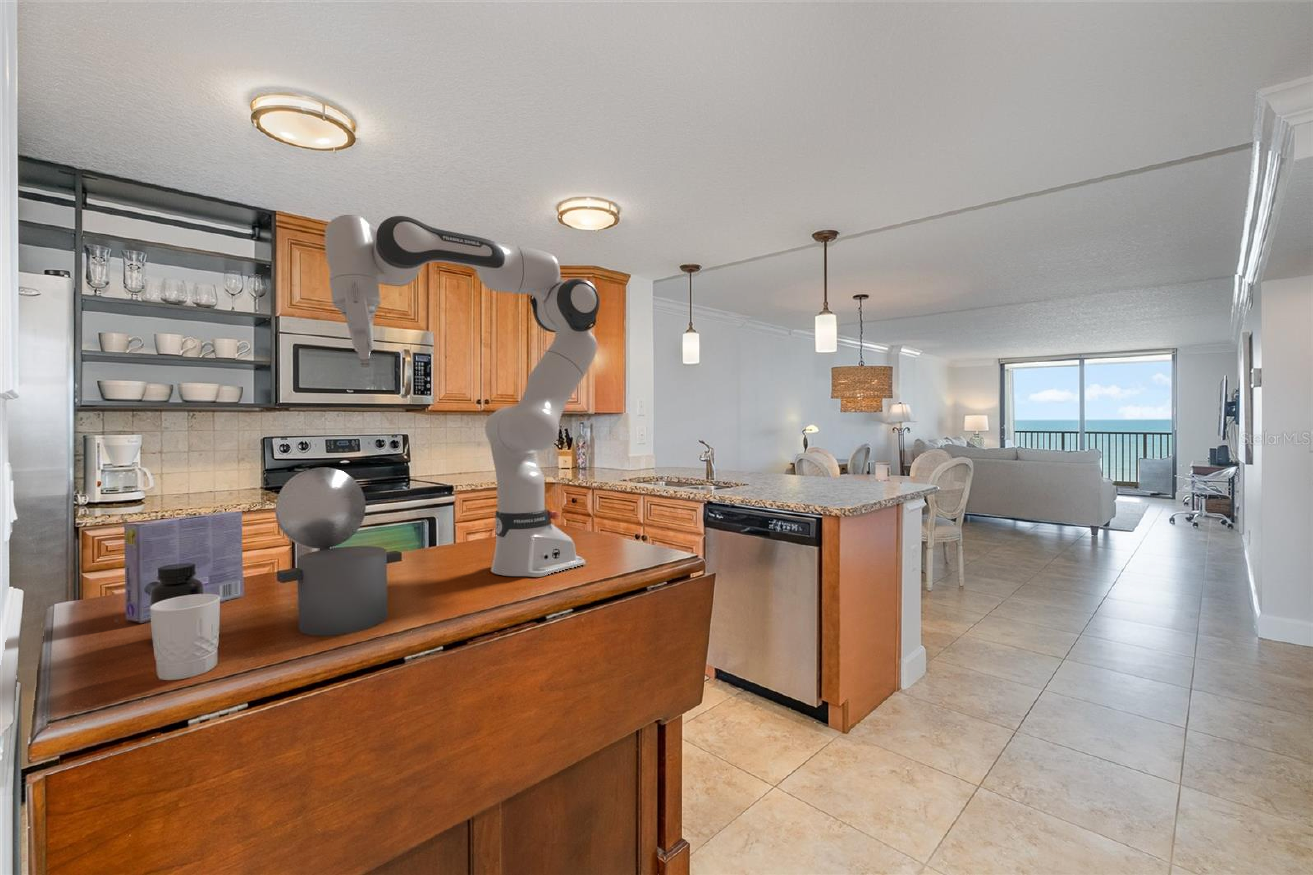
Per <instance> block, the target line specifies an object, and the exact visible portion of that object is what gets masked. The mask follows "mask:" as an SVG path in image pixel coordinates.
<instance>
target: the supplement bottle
mask: <svg viewBox="0 0 1313 875" xmlns="http://www.w3.org/2000/svg"><path fill="white" fill-rule="evenodd" d="M195 575H196V572H195V564H194V563H180V564H172V565H167V566H162V567H160V568H158V576H157V580H160V583H158V584H157V585H155V586H154V587H153V588H152V589H151V592H150V606H151V605H153V604H155V603H157V602H160V601H163V600H166V599H170V598H175V597H180V596H186V595H194V594H203V584H202V582H201V581H200V580H198V579H195V578H194V576H195ZM150 639H151V640H150V641H151V643H153V640H152V629H151V628H150Z"/></svg>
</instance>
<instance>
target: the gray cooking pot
mask: <svg viewBox="0 0 1313 875" xmlns="http://www.w3.org/2000/svg"><path fill="white" fill-rule="evenodd" d="M402 554H403V553H402V552H401V551H398V550H391V551H387V549H385V548H384V547H380V546H374V545H373V546H370V545H352V546H351V545H350V546H342V547H330V548H323V549H318V550H315V551H311V552H307V553H304V554H302V555H300V556H298V557H297V559H296V566H297V567H293V568H287V569H281V570H277V571H276V581H277V582H278V583H280V584H286V583H292V582H296V581H297V611H298V612H297V614H298V615H297V616H298V617H297V618H298V620H297V621H298V622H297V623H298V631H299V632H300V633H301V632H302V634H303V635H308V636H315V637H317V636H318V637H329V636H340V635H346V634H353V633H357V632H362V631H365V630H368V629H371V628H374V627H377V626H379V625H380V624H382V623H383V622H385V621H386V620H387V619H388V616H389V615H388V614H389V613H388V570H387V568H388V565H387V564H393V563H398V562H402V561H403V557H402V556H403V555H402ZM386 618H387V619H386Z"/></svg>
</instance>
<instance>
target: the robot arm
mask: <svg viewBox="0 0 1313 875" xmlns="http://www.w3.org/2000/svg"><path fill="white" fill-rule="evenodd" d="M324 230H325V231H324V248H325V258H326V262H327V265H328V267H329V271H330V274H329V280H328V281H329V287H330V295H331V301H332V302H331V304H332V306H333V307H335V308H336V309H338V311H339V312H340V314H341V316H342V317H344V319H345V321H346V324H347V328H348V331H349V335H350V338H351V343H352V346H353V349H354V351H355V352H357V355H358V358H359V361H360V362H359V363H360V367H361V369H362V370H368V369H370V368H371V367H372V366H371V356H370V355H371V354H370V353H371V351H373V349H374V316H376V313H377V309H378V307H379V306H380V305H381V304H382V303H381V302H382V301H381V297H380V288H379V284H380V285H386V286H391V287H393V286H394V287H403V286H407V285H409V284H411V283H412V282H413V281H414V280H415V279H416V278H417V276H418V275H419V273H420V271H421V270H422V267H423V266H424V265H426V264H429V263H432V262H433V263H434V262H438V263H439V262H440V263H446V264H452V265H459V266H464V267H465V266H467V267H470V268H472V269H474V270H476V274H477V277H478V279H479V280H480V282H481V283H482V284H483V286H484V287H485V288H486V289H488V290H491V291H494V292H498V293H501V294H502V293H504V294H513V295H514V294H516V295H517V294H518V295H529V302H530V304H531V307H532V314H533V317H534V320H535V322H536V324H537V325H538V327H539V328H541V329H542V330H544V331H546V332H549V333H555V334H554V338H553V341H552V343H551V345H550V346H549V347H548V349H547V350H546V351H545V353H544V354H543V355H542V357H541V359H539V361H538V363H537V364H536V365H535V366H534V368H533V370H532V371H531V373H530V374H529V375H528V377H527V384H526V386H525V390H524V391H523V392H524V393H523V394H522V397H521V398H520V399H519V402H518V403H517V404H515V405H514V406H511V405H510V406H504V407H501V408H499V409H497V410H496V411H494V412H493V413H492V414H490V415H489V416H488V418H487V420H486V422H485V427H484V428H485V429H484V431H485V435H486V438H487V439H488V441H489V444H490V450H491V455H492V459H493V464H494V469H495V475H496V476H495V478H496V501H497V502H496V503H497V505H496V506H497V510H496V511H495V520H494V527H495V536H496V539H495V540H496V541H495V550H494V556H493V562H492V564H491V568H490V572H491V573H493V574H494V575H495V574H496V575H501V576H506V577H533V578H541V577H545V576H548V574H549V575H552V574H551V573H553V574H555V573H554V572H557V573H559V571H561V572H563V571H562V570H564V571H566V570H565V569H568V568H572V569H575V568H574V567H576V568H578V567H577V566H580V565H583V564H585V565H586V559H584V558H583V557H581V556H579V555H577V551H576V545H575V543H574V541H573V540H574V539H572V537H571V536H569V535H568V534H566V533H565V532H564V531H562V530H561V529H559V527H557V526H555V525H554V524H552V520H559V518H560V516H561V515H560V512H559V511H556V510H551V511H550V510H548V509H547V508H545V505H546V503H545V495H546V494H545V476H544V473H543V471H542V469H541V467H540V465H539V461H538V457H537V453H540V452H543V451H546V450H548V449H550V448H551V447H553V445H554V444H556V441H557V439H558V437H559V433H560V426H559V423H560V421H561V419H562V418H561V417H562V415H563V413H564V410H565V409H566V408H565V407H566V405H567V403H568V402H569V400H570V398H571V397H572V395H573V394H574V392H575V391H576V389H577V387H579V384H581V381H582V380H583V378H584V377H585V375H586V374H587V373H588V371H589V369H590V366H591V365H592V362H594V361H593V360H594V358H595V356H596V353H597V351H598V345H599V344H598V341H597V338H596V336H594V333H592V332H591V330H592V328H594V327H595V326H596V322H597V315H598V312H599V309H600V305H601V304H600V294H599V291H598V289H597V288H596V287H595V285H594V284H593V283H592V282H590V281H588V280H586V279H584V278H583V279H582V278H570V279H567V280H564V279H563V277H562V276H561V267H560V263H559V260H558V259H557V258H556V256H554V255H553V254H552V253H550V252H547V251H544V250H540V249H538V248H533V247H529V246H524V245H523V246H522V245H514V244H507V243H500V242H495V241H493V240H491V239H488V238H484V237H479V236H475V235H470V234H465V233H459V232H456V231H455V232H454V231H450V230H444V229H439V228H435V227H434V226H433V227H432V226H429V225H427V224H425V223H424V222H421V221H419V220H418V219H415V218H412V217H411V216H410V217H409V216H406V215H395V216H391V217H388V218H387V219H384V220H383V221H382V222H381V223H380V224H379V225H378V228H376V227H375V226H374V225H372V224H371V223H369V222H368V221H367V220H366V219H365V218H364V217H362V216H360V215H356V214H354V215H353V214H345V215H340V216H338V217H334V218H333V219H331V220H330V221H329V222H328V223H327V225H326V227H325V229H324ZM583 566H584V565H583ZM580 567H581V566H580ZM568 570H569V569H568Z"/></svg>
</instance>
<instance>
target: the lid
mask: <svg viewBox="0 0 1313 875" xmlns="http://www.w3.org/2000/svg"><path fill="white" fill-rule="evenodd" d="M366 505H367V504H366V498H365V494H364V491H363V490H362V488H361V486H360V484H359V483H358V482H357V481H356V480H355V479H354V478H353V477H352V476H350V475H349V474H348V473H346V472H344V471H342V470H340V469H337V468H332V467H325V466H324V467H323V466H322V467H315V468H314V467H313V468H310V469H308V470H304V471H301V472H299V473H298V474H296V475H294V476H293V477H291V478H290V479H289V480H287V481H286V483H285V484H284V485H283V486H282V488H281V489H280V491H279V493H278V495H277V498H276V502H275V508H274V509H275V518H276V522H277V524H278V527H279V528H280V530H281V531H282V533H283V534H284V535H285V536H286V537H287V538H288V539H289V540H290V541H292V542H293V543H294V544H296V545H298V546H301V547H304V548H307V549H314V550H315V549H318V550H321V549H330V548H335V547H336V546H339V545H342V544H344V543H345V542H347V541H349V540H350V539H351V538H352V537H353V536H354V535H355V534H356V533H357V532H358V530H359V529H360V528H361V525H362V524H363V522H364V519H365V515H366V509H367V508H366V507H367V506H366Z"/></svg>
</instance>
